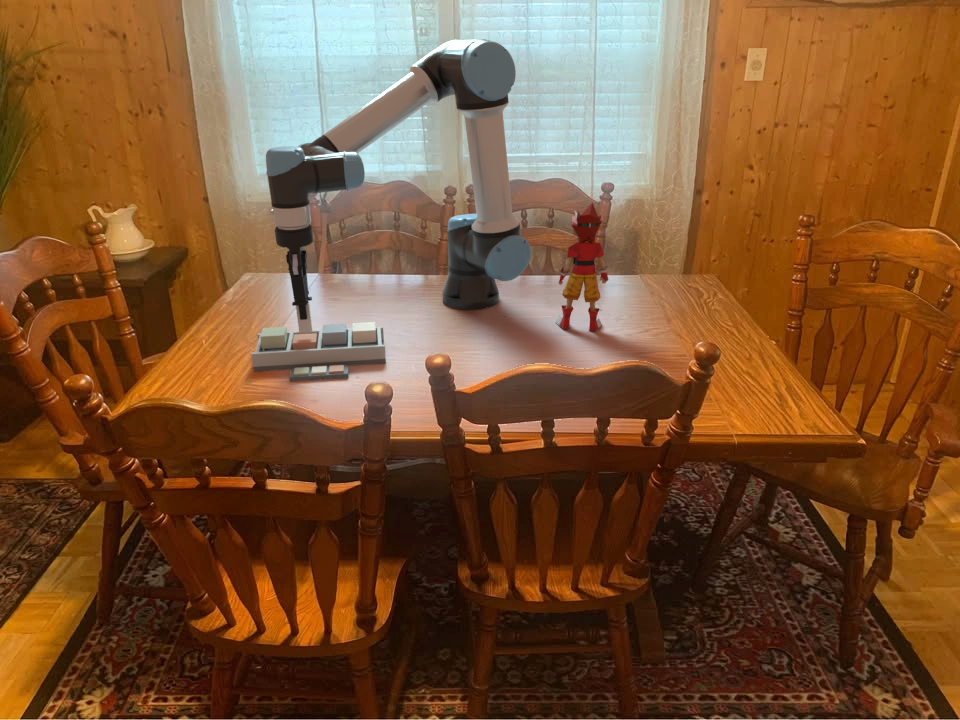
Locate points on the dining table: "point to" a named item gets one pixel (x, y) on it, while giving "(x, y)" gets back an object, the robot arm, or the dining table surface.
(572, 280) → the toy
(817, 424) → the dining table surface
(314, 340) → the key terracotta
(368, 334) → the key cream
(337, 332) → the key slate
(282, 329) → the key sage
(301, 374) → the plaque
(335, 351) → the grey base
